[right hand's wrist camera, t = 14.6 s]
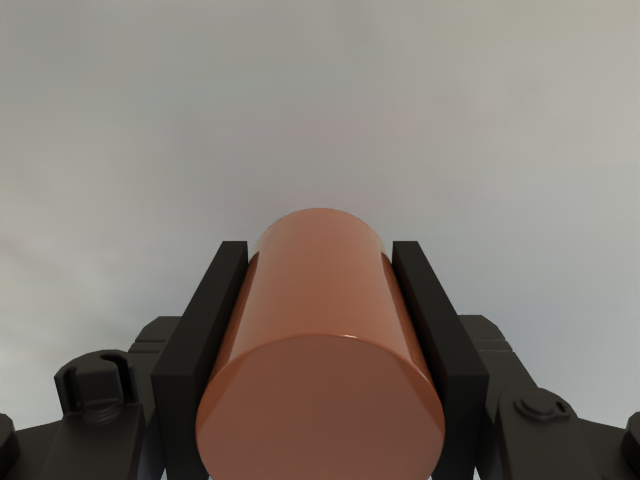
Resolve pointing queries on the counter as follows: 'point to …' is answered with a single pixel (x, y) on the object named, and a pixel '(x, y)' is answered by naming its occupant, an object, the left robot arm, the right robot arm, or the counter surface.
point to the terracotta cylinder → (320, 364)
